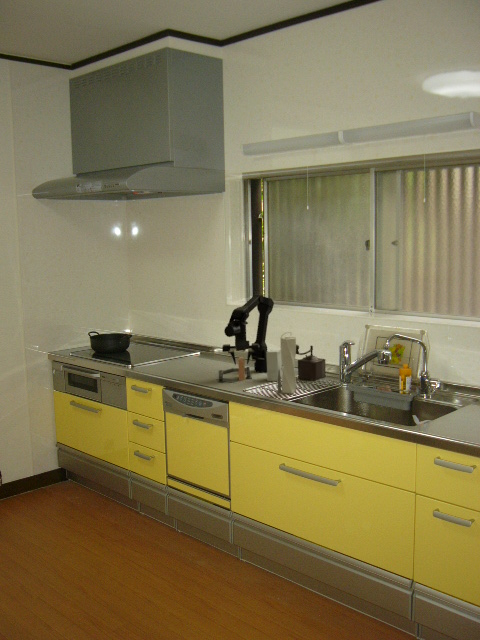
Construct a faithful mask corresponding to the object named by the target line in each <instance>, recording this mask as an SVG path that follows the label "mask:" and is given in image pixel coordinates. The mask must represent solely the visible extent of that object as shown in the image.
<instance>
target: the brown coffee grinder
mask: <svg viewBox="0 0 480 640" xmlns="http://www.w3.org/2000/svg"><path fill="white" fill-rule="evenodd" d="M309 347H310V349H309V350H307V351H305V352H300V350H299V349H300V345H299V344H297V343H296V355H299V356H303V355H305V357H302V358H301V359H298V360H297V378H298V379H301V380H307V381H313V382H314V381H318V380H321V379H324V378H325V377H326V374H327V373H326V359H325V358H320V357H317V356H315V355H314V353H313V350H314V346H313V345H310V346H309ZM309 353H310V355H307V354H309Z"/></svg>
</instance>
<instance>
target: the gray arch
mask: <svg viewBox="0 0 480 640" xmlns="http://www.w3.org/2000/svg"><path fill="white" fill-rule="evenodd" d="M231 373H239V367H232V368H228V369H223V370H222V369H219V370H218V379H219V380H217V383H224V382H225V381H224V380H223V378H224V376H223V375H227V374H231ZM245 373H246V376H245V380H251V379H252V375H251V374H252V373H251V366H246V367H245Z"/></svg>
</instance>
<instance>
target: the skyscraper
mask: <svg viewBox="0 0 480 640" xmlns="http://www.w3.org/2000/svg"><path fill="white" fill-rule="evenodd" d="M286 334H290V335H286ZM292 334H293V333H292V331H287V332H284V333H283V334H281V335H280V350H281V361H282V378H281V376H280V370H278V381H277V394H281V395H293V394H294V393H295V392H296V391H297V381H296V371H295V362H296V356H297V354H296V344H297V341H296V340H297V339H296V336H292ZM284 335H285V336H284ZM283 336H284V337H283Z"/></svg>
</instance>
